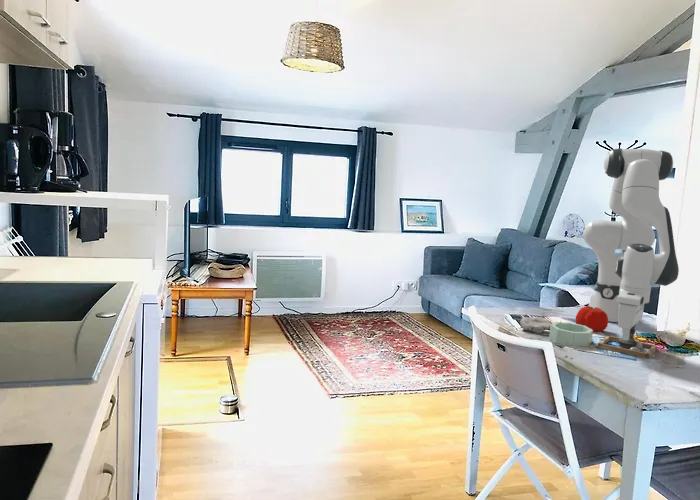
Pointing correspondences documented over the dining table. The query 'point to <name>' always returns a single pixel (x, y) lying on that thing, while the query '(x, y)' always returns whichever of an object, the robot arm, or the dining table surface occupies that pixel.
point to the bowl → (570, 334)
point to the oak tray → (647, 355)
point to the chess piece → (630, 342)
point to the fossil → (535, 324)
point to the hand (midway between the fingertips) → (628, 336)
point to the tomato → (592, 318)
